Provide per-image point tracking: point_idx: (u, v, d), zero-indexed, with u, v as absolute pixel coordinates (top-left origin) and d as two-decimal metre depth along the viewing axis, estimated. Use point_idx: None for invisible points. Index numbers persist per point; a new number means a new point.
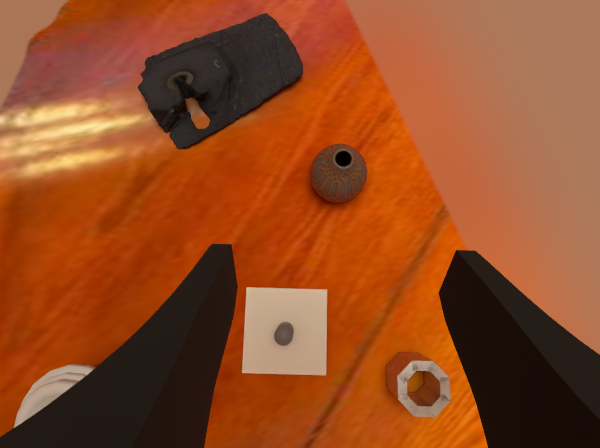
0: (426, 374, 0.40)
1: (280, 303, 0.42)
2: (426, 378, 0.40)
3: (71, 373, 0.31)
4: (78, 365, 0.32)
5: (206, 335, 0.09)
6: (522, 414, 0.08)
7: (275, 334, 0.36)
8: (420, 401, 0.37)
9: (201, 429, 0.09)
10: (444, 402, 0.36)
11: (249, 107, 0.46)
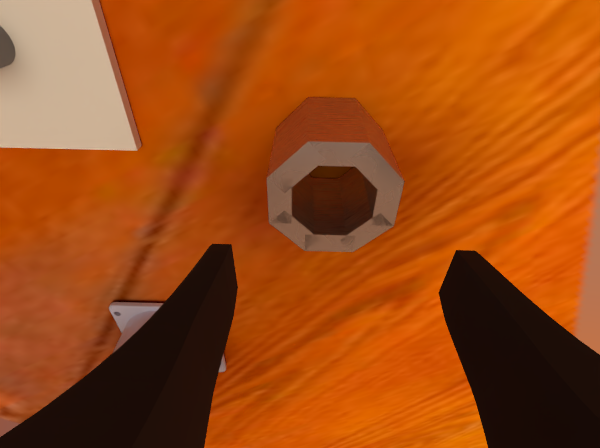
0: None
1: None
2: None
3: None
4: None
5: (206, 335, 0.09)
6: (522, 414, 0.08)
7: None
8: (329, 214, 0.17)
9: (201, 429, 0.09)
10: (379, 228, 0.15)
11: None
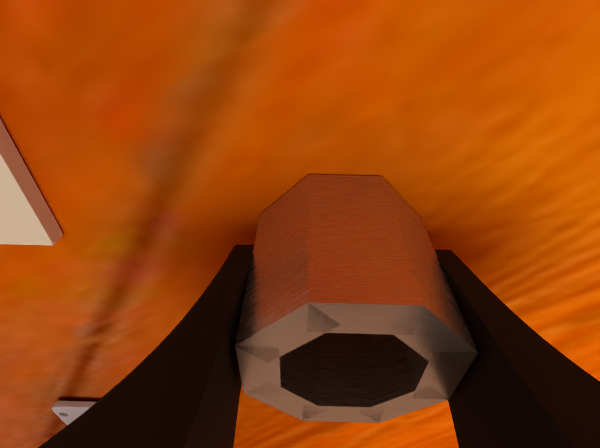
0: None
1: None
2: None
3: None
4: None
5: (236, 336, 0.09)
6: (488, 413, 0.08)
7: None
8: (341, 356, 0.11)
9: (231, 430, 0.09)
10: (425, 401, 0.09)
11: None
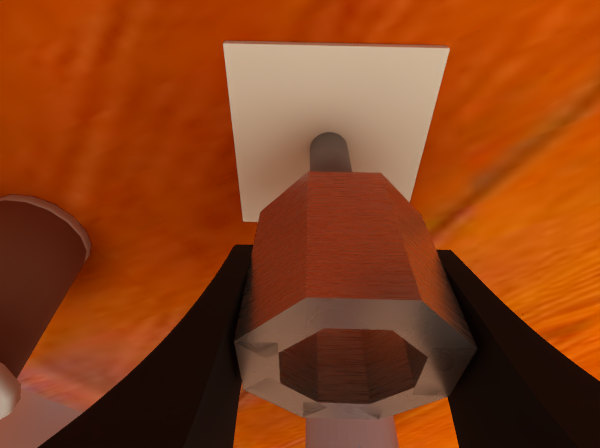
0: None
1: (318, 89, 0.16)
2: None
3: None
4: None
5: None
6: (488, 413, 0.08)
7: None
8: (342, 353, 0.11)
9: (231, 430, 0.09)
10: (425, 397, 0.09)
11: None
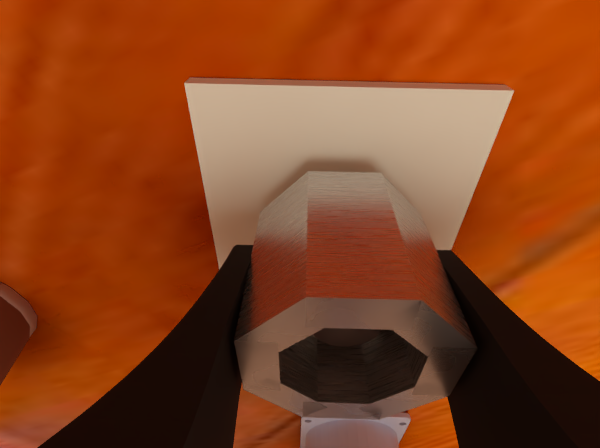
0: None
1: (321, 144, 0.11)
2: None
3: None
4: None
5: None
6: (488, 413, 0.08)
7: None
8: (342, 353, 0.11)
9: (231, 430, 0.09)
10: (425, 397, 0.09)
11: None
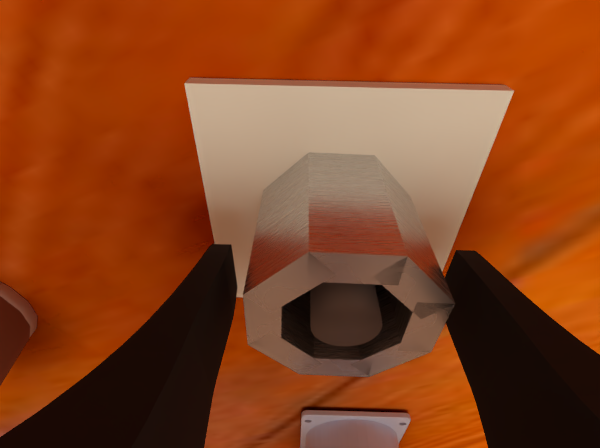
0: None
1: (321, 144, 0.12)
2: None
3: None
4: None
5: (206, 335, 0.09)
6: (522, 414, 0.08)
7: (315, 323, 0.09)
8: None
9: (201, 429, 0.09)
10: (410, 353, 0.10)
11: None
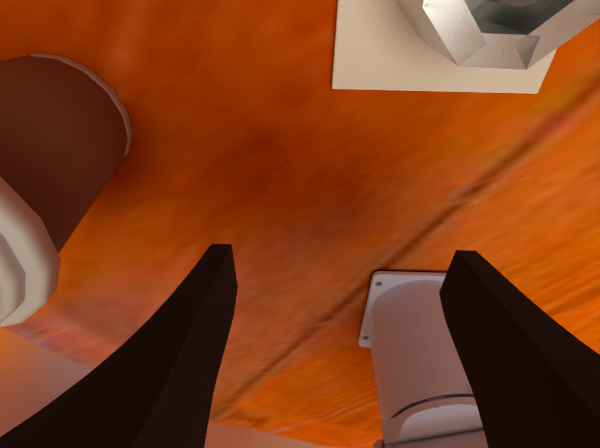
0: None
1: None
2: None
3: None
4: None
5: (206, 335, 0.09)
6: (522, 414, 0.08)
7: None
8: (486, 26, 0.12)
9: (201, 429, 0.09)
10: (581, 19, 0.10)
11: None
